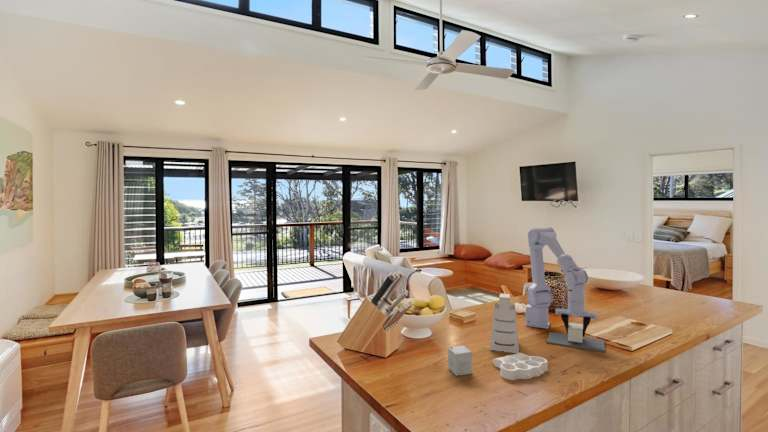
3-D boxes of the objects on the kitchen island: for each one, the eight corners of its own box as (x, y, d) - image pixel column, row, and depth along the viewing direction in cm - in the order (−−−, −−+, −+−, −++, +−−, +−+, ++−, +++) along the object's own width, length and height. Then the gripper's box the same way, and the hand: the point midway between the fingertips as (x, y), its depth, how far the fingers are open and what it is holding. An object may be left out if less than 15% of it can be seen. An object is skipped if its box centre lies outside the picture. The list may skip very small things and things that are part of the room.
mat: (546, 343, 151) (546, 341, 151) (549, 333, 162) (549, 331, 162) (604, 352, 142) (604, 350, 142) (604, 341, 152) (604, 339, 152)
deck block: (569, 333, 157) (569, 322, 157) (582, 335, 154) (583, 324, 154) (567, 340, 149) (568, 329, 149) (582, 342, 147) (582, 331, 146)
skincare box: (472, 373, 126) (472, 351, 126) (455, 376, 124) (455, 354, 124) (463, 366, 132) (463, 345, 132) (447, 368, 130) (447, 347, 130)
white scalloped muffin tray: (524, 357, 139) (558, 374, 125) (484, 367, 131) (515, 386, 118) (524, 348, 139) (558, 364, 125) (484, 357, 131) (515, 375, 118)
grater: (518, 343, 152) (519, 293, 151) (518, 353, 142) (519, 300, 141) (491, 340, 155) (491, 291, 154) (489, 350, 145) (489, 298, 144)
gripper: (555, 300, 151) (554, 334, 152) (597, 305, 144) (596, 340, 145) (556, 296, 157) (556, 329, 158) (596, 300, 150) (596, 334, 151)
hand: (575, 334), depth 152 cm, fingers closed on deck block, 5 cm apart
